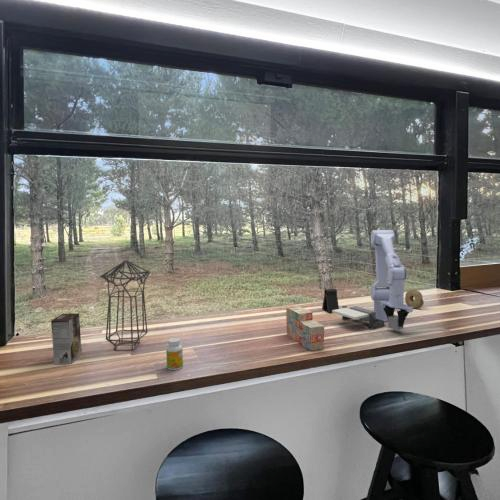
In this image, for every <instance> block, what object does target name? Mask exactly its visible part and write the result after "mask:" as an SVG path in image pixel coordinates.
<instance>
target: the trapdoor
mask: <svg viewBox="0 0 500 500" xmlns="http://www.w3.org/2000/svg"><path fill="white" fill-rule="evenodd" d="M352 309H353V310H352ZM359 311H360V312H359ZM363 312H364V313H363ZM366 313H367V314H366ZM371 313H373V314H374V320H375V319H376V312H375V311H374V310H370V309H366V308H363V307H360V306H357V305H356V306H351V307H349V308H348V307H347V308H342V307H341V308H339V309H336V310H332V313H331V314H336V315H339V316H345V317H348V318H352V319H351V320H361V319H363V320H362V321H364V320H366V321H365V322H367V321H369V314H371ZM359 318H360V319H359Z"/></svg>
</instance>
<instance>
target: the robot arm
mask: <svg viewBox="0 0 500 500" xmlns="http://www.w3.org/2000/svg"><path fill="white" fill-rule="evenodd" d="M370 234H371V235H370V245H371V248H373V249H374V253H375V255H374V256H375V257H374V258H375V275H376V281H374V283H371V286H370V298H371V300H372V301H373V311H375V312H376V318H377V319H380V320H384V321H385V322H388V316H392V315H395V314H394V313H395V311H396V314H397V316H398V324H399V327H402V326H403V324H404V323H405V321H406V318H407V316H408V315H409V314H410V313H413V312H414V308H413V307H409V306H408V305H407V304H404V301H405V297H404V296H405V293H404V291H405V280H406V279H407V277H408V276H407V275H408V274H407V272H408V271H407V269H406V267H405V266H404V265H403V264H402V262H401V260H400V257H399V255H398V254H397V253H395V248H394V242H395V237H396V235H395V231H394V230H393V229H379V230H378V229H377V230H376V229H373V230H372V231H371V233H370ZM387 269H388V270H387Z"/></svg>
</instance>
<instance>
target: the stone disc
mask: <svg viewBox="0 0 500 500" xmlns="http://www.w3.org/2000/svg"><path fill="white" fill-rule="evenodd" d="M404 296H405V297H404V301H405V305H407V306H409V307H413V309H420V308H421V307H423V305H424V303H425V302H424V299H423V294H422V293H421V292H420V290H417V289H409V290H408V291H407V292H406V293H405V295H404Z"/></svg>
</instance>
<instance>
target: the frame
mask: <svg viewBox="0 0 500 500" xmlns="http://www.w3.org/2000/svg"><path fill="white" fill-rule="evenodd" d="M341 308H348V307H347V305H342V307H341ZM352 310H353V309H352ZM359 312H360V311H359ZM363 313H364V312H363ZM366 314H367V313H366ZM341 316H342V315H341ZM341 320H342V321H348V320H353V319H352V318H348V317H345V316H342V318H341ZM358 320H361V321H363V322H367V323H368V324H369V325H368V328H369V329H370V330H374V329H375V330H376V329H378V328H382V327H385V323H386V321H384V320H380V319H377V318H376V319H375V320H374V314H373V313H371V314H369V321H366V320H363V319H360V318H359V319H358Z"/></svg>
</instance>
